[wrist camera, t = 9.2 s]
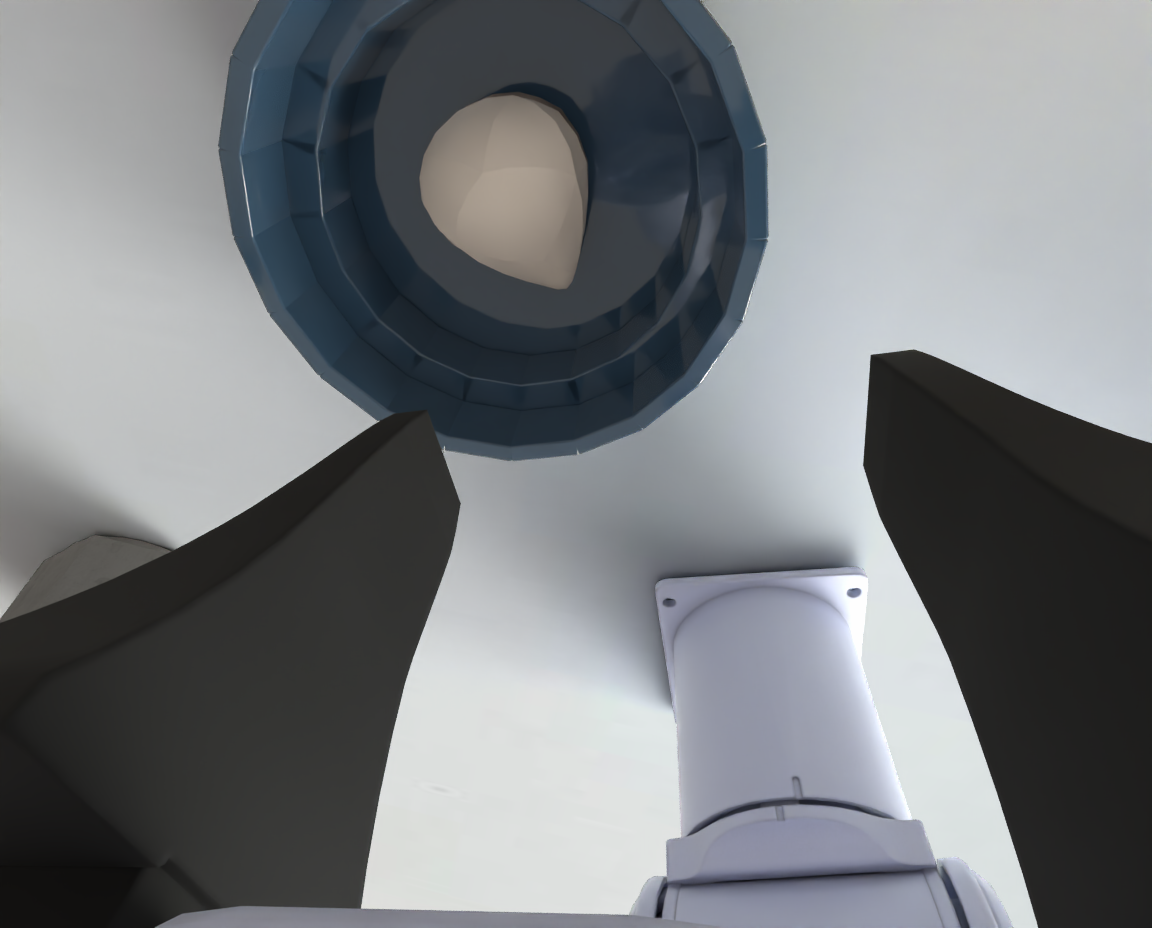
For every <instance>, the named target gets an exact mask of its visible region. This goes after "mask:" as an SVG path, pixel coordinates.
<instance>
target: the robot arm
mask: <svg viewBox="0 0 1152 928" xmlns="http://www.w3.org/2000/svg"><path fill="white" fill-rule="evenodd" d="M863 466H864V469H865V472H866V476H867V479H868V482H869V485H870V489H871V492H872V495H873V498H874V501H875V504H876V507H877V510H878V513H879V516H880V518H881V520H882V522H883V524H884V527H885V529H886V531H887V533H888V535H889V537H890V539H891V541H892V543H893V545H894V547H895V549H896V551H897V553H898V555H899V557H900V559H901V561H902V563H903V565H904V567H905V569H906V571H907V573H908V575H909V577H910V579H911V581H912V583H913V585H914V586H915V588H916V590H917V592H918V594H919V596H920V598H921V600H922V602H923V604H924V606H925V608H926V610H927V612H928V614H929V616H930V618H931V620H932V622H933V624H934V626H935V628H936V630H937V632H938V634H939V636H940V639H941V641H942V643H943V645H944V648H945V650H946V652H947V654H948V657H949V659H950V661H951V664H952V667H953V669H954V672H955V675H956V678H957V680H958V683H959V686H960V689H961V691H962V694H963V697H964V699H965V702H966V705H967V708H968V710H969V713H970V716H971V718H972V721H973V724H974V727H975V730H976V733H977V736H978V739H979V742H980V744H981V747H982V750H983V753H984V756H985V759H986V762H987V765H988V768H989V771H990V774H991V777H992V779H993V782H994V785H995V788H996V791H997V794H998V798H999V801H1000V804H1001V807H1002V810H1003V813H1004V816H1005V820H1006V823H1007V826H1008V829H1009V832H1010V835H1011V839H1012V842H1013V845H1014V848H1015V851H1016V854H1017V857H1018V861H1019V864H1020V867H1021V870H1022V873H1023V877H1024V880H1025V883H1026V887H1027V890H1028V894H1029V897H1030V901H1031V904H1032V907H1033V911H1034V914H1035V918H1036V921H1037V925H1038V928H1152V443H1149V442H1145V441H1142V440H1139V439H1135V438H1132V437H1129V436H1126V435H1123V434H1120V433H1117V432H1114V431H1111V430H1108V429H1106V428H1103V427H1100V426H1097V425H1095V424H1092V423H1089V422H1087V421H1084V420H1081V419H1079V418H1076V417H1073V416H1071V415H1068V414H1066V413H1063V412H1060V411H1058V410H1055V409H1053V408H1050V407H1048V406H1045V405H1043V404H1040V403H1038V402H1036V401H1033V400H1031V399H1028V398H1026V397H1024V396H1021V395H1019V394H1017V393H1014V392H1012V391H1010V390H1008V389H1005V388H1003V387H1001V386H999V385H996V384H994V383H992V382H990V381H988V380H985V379H983V378H981V377H979V376H976V375H974V374H972V373H970V372H968V371H966V370H963V369H961V368H959V367H957V366H955V365H952V364H950V363H948V362H945V361H943V360H941V359H939V358H936V357H934V356H931V355H929V354H926V353H923V352H920V351H917V350H907V351H899V352H891V353H882V354H874V355H871V361H870V375H869V390H868V405H867V419H866V434H865V448H864V463H863ZM460 504H461V503H460V500H459V498H458V495H457V492H456V489H455V486H454V484H453V481H452V478H451V475H450V472H449V470H448V467H447V464H446V461H445V458H444V456H443V453H442V450H441V447H440V444H439V442H438V439H437V436H436V433H435V430H434V428H433V425H432V422H431V419H430V416H429V414H428V411H427V410H419V411H411V412H403V413H395V414H392V415H390V416H388V417H386V418H384V419H383V420H381V421H379V422H378V423H376V424H374V425H373V426H371V427H370V428H368V429H367V430H365V431H363V432H362V433H361V434H359V435H358V436H356V437H355V438H353V439H352V440H350V441H349V442H347V443H346V444H345V445H343V446H342V447H340V448H339V449H337V450H336V451H335V452H333V453H332V454H330V455H329V456H327V457H326V458H325V459H323V460H322V461H320V462H319V463H317V464H316V465H315V466H313V467H312V468H310V469H309V470H307V471H306V472H305V473H303V474H302V475H300V476H299V477H297V478H295V479H294V480H292V481H291V482H289V483H288V484H286V485H285V486H283V487H282V488H280V489H279V490H277V491H276V492H274V493H273V494H271V495H269V496H268V497H266V498H265V499H263V500H262V501H260V502H259V503H257V504H256V505H254V506H253V507H251V508H249V509H248V510H246V511H244V512H243V513H241V514H239V515H238V516H236V517H234V518H233V519H231V520H229V521H227V522H226V523H224V524H222V525H220V526H219V527H217V528H215V529H213V530H211V531H209V532H208V533H206V534H204V535H202V536H200V537H198V538H197V539H195V540H193V541H191V542H189V543H187V544H185V545H183V546H181V547H179V548H177V549H175V550H173V551H171V552H169V553H167V554H165V555H163V556H160V557H158V558H156V559H154V560H152V561H150V562H148V563H146V564H143V565H141V566H139V567H137V568H135V569H133V570H131V571H129V572H126V573H124V574H122V575H120V576H118V577H116V578H114V579H111V580H109V581H107V582H104V583H102V584H100V585H97V586H95V587H92V588H90V589H87V590H85V591H83V592H80V593H78V594H75V595H73V596H70V597H68V598H65V599H63V600H60V601H58V602H55V603H52V604H50V605H47V606H45V607H42V608H39V609H37V610H34V611H31V612H29V613H26V614H23V615H21V616H18V617H15V618H12V619H10V620H7V621H4V622H1V623H0V928H1014V927H1013V925H1012V923H1011V921H1010V918H1009V916H1008V914H1007V912H1006V910H1005V908H1004V906H1003V904H1002V902H1001V900H1000V899H999V897H998V895H997V893H996V892H995V890H994V889H993V887H992V886H991V885H990V884H989V883H988V882H987V881H986V880H985V879H984V878H982V877H981V876H980V875H978V874H977V873H976V872H974V871H973V870H971V869H970V868H969V867H968V865H967V864H966V863H965V862H964V861H963V860H961V859H960V858H958V857H949V858H943V859H937V864H936V861H935V859H934V856H933V853H932V850H931V847H930V844H929V841H928V838H927V835H926V832H925V829H924V826H923V823H922V821H920V820H912V818H911V815H910V812H909V809H908V806H907V803H906V800H905V796H904V793H903V790H902V787H901V784H900V781H899V778H898V775H897V772H896V769H895V766H894V763H893V760H892V756H891V753H890V750H889V747H888V744H887V741H886V738H885V735H884V732H883V729H882V726H881V723H880V719H879V716H878V713H877V710H876V707H875V704H874V701H873V698H872V695H871V692H870V689H869V686H868V683H867V679H866V676H865V673H864V670H863V667H862V664H861V650H862V640H863V630H864V619H865V609H866V599H867V588H868V578H867V575H866V572H865V571H864V570H863V569H861V568H859V567H842V568H827V569H811V570H795V571H780V572H764V573H748V574H733V575H717V576H701V577H686V578H670V579H663V580H660V581H659V582H658V583H657V584H656V586H655V595H656V602H657V608H658V614H659V621H660V627H661V634H662V640H663V647H664V653H665V659H666V666H667V672H668V679H669V685H670V692H671V698H672V704H673V711H674V717H675V722H676V724H677V749H678V774H679V799H680V824H681V838H675V839H669V840H667V841H666V860H667V876H654V877H652V878H650V879H648V880H647V882H646V883H645V885H644V886H643V888H642V890H641V893H640V895H639V897H638V898H637V900H636V901H635V903H634V904H633V906H632V908H631V911H630V913H629V915H609V914H565V913H522V912H479V911H436V910H393V909H361V904H362V897H363V890H364V883H365V876H366V869H367V863H368V857H369V852H370V846H371V840H372V835H373V829H374V823H375V818H376V812H377V806H378V801H379V795H380V791H381V786H382V781H383V776H384V772H385V767H386V762H387V757H388V753H389V748H390V743H391V738H392V734H393V730H394V726H395V722H396V718H397V714H398V709H399V705H400V701H401V697H402V693H403V689H404V685H405V681H406V678H407V675H408V672H409V669H410V665H411V662H412V659H413V656H414V654H415V651H416V648H417V645H418V643H419V640H420V637H421V634H422V632H423V629H424V626H425V624H426V621H427V618H428V615H429V613H430V610H431V607H432V604H433V602H434V599H435V596H436V594H437V591H438V588H439V585H440V582H441V580H442V577H443V574H444V571H445V568H446V566H447V563H448V560H449V557H450V554H451V550H452V546H453V541H454V537H455V532H456V527H457V521H458V515H459V510H460ZM853 587H856V588H855V589H852V590H849V589H850V588H853ZM667 598H671V599H673V600H666V599H667Z"/></svg>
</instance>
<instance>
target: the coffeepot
mask: <svg viewBox="0 0 1152 928" xmlns="http://www.w3.org/2000/svg"><path fill="white" fill-rule="evenodd" d="M169 552H171V551H169V550H167V549H165V548H162V547H159V546H156V545H153V544H150V543H147V542H144V541H140V540H134V539H129V538H124V537H107V536H99V535H93V536H91V537H89V538H87V539H85V540H82V541H79V542H76V543H74V544H72V545H71V546H70V547H68V548H67V549H66V550H64V551H62V552H60V553H58V554H56V555H54V556H52V557H50V558H48V559H46V560H45V561H43V563H42V564H41V565H40V567H39V568H38V569H37V571H36V572H35V573H34V575H33V576H32V577H31V579H30V580H29V581H28V583H27V584H26V585H25V587H24V588H23V589H22V591H21V592H20V593H19V595H18V596H17V597H16V599H15V600H14V601H13V603H12V604H11V605H10V607H9V608H8V609H7V611H6V612H5V613H4V615H3V616H2V617H1V619H0V623H1V622H4V621H7V620H10V619H12V618H15V617H18V616H21V615H23V614H26V613H29V612H31V611H34V610H37V609H39V608H42V607H45V606H47V605H50V604H52V603H55V602H58V601H60V600H63V599H65V598H68V597H70V596H73V595H75V594H78V593H80V592H83V591H85V590H87V589H90V588H92V587H95V586H97V585H100V584H102V583H104V582H107V581H109V580H111V579H114V578H116V577H118V576H120V575H122V574H124V573H126V572H129V571H131V570H133V569H135V568H137V567H139V566H141V565H143V564H146V563H148V562H150V561H152V560H154V559H156V558H158V557H160V556H163V555H165V554H167V553H169Z"/></svg>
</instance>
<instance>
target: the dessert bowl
mask: <svg viewBox="0 0 1152 928" xmlns="http://www.w3.org/2000/svg"><path fill="white" fill-rule="evenodd" d="M510 92H521V93H525V94H529V95H532V96H536V97H540V98H542V99H544V100H546V101H548V102H549V103H551V104H553V105H555V106H557V107H559V108H561V109H562V111H563V112H564V114H565V115H566V117H567V118H568V119H569V121H570V122H571V124H572V125H573V127H574V128H575V129H576V131H577V132H578V134H579V137H580V140H581V143H582V146H583V149H584V152H585V155H586V157H587V160H588V203H587V215H586V226H585V231H584V236H583V241H582V246H581V251H580V255H579V260H578V264H577V268H576V271H575V274H574V278H573V281H572V282H571V284H570V285H569V286H568V288H567V289H554V288H550V287H546V286H543V285H539V284H535V283H531V282H527V281H524V280H521V279H518V278H515V277H512V276H509V275H506V274H503V273H501V272H499V271H497V270H495V269H492V268H490V267H488V266H486V265H484V264H482V263H480V262H478V261H476V260H475V259H474V258H472V257H471V256H469V255H468V254H467V253H465V252H464V251H463V250H461V249H459V248H458V247H456V246H454V245H453V244H452V243H451V242H450V241H449V240H448V239H447V238H446V237H445V236H444V234H443V233H441V232H440V231H439V229H438V228H437V227H436V225H435V224H434V223H433V221H432V219H431V217H430V215H429V213H428V211H427V210H426V208H425V206H424V204H423V202H422V199H421V189H420V179H419V178H420V172H421V167H422V162H423V157H424V154H425V152H426V150H427V148H428V146H429V144H430V142H431V140H432V138H433V136H434V135H435V133H436V132H437V131H438V130H439V129H440V128H441V127H442V126H443V125H444V124H445V123H446V122H447V121H448V120H449V119H450V118H451V117H452V116H453V115H454V114H455V113H456V112H457V111H459V110H461V109H463V108H465V107H466V106H468V105H470V104H472V103H475V102H477V101H479V100H481V99H483V98H486V97H488V96H490V95H492V94H499V93H510ZM218 146H219V156H220V162H221V168H222V174H223V180H224V186H225V192H226V198H227V204H228V210H229V216H230V222H231V228H232V234H233V236H235V237H234V240H235V242H236V245H237V247H238V249H239V251H240V253H241V255H242V258H243V260H244V262H245V264H246V266H247V268H248V270H249V273H250V275H251V277H252V279H253V281H254V283H255V286H256V288H257V290H258V292H259V294H260V296H261V299H262V301H263V303H264V305H265V307H266V309H267V312H268V313H270V317H271V318H272V319H273V320H274V321H275V323H276V324H277V325H278V326H279V328H280V329H281V330H282V331H283V333H284V334H285V335H286V336H287V337H288V339H289V340H290V341H291V342H292V344H293V345H294V346H295V347H296V349H297V350H298V351H299V352H300V354H301V355H302V356H303V357H304V358H305V360H306V361H307V362H308V363H309V365H310V366H311V367H312V368H313V370H314V371H315V372H316V373H317V375H320V377H321V378H322V379H323V380H325V381H326V382H327V383H328V384H330V385H331V386H332V387H334V388H335V389H336V390H338V391H339V392H340V393H342V394H343V395H344V396H346V397H347V398H348V399H350V400H351V401H352V402H353V403H355V404H356V405H357V406H359V407H360V408H361V409H363V410H364V411H365V412H367V413H368V414H369V415H371V416H372V417H373V418H374V419H376V420H377V421H379V420H380V421H381V420H383V419H384V418H386V417H388V416H390V415H392V414H395V413H403V412H411V411H419V410H427V411H428V414H429V416H430V419H431V422H432V425H433V428H434V430H435V433H436V436H437V439H438V442H439V444H440V447H441V449H445V450H446V451H452V452H458V453H464V454H470V455H476V456H482V457H488V458H494V459H500V460H507V461H511V460H512V461H521V460H531V459H541V458H551V457H561V456H571V455H578V454H582V453H585V452H587V451H590V450H592V449H595V448H598V447H600V446H603V445H605V444H608V443H610V442H613V441H615V440H618V439H620V438H623V437H625V436H628V435H630V434H633V433H636V432H638V431H641V430H642V428H643V429H644V428H646V427H647V426H648V425H649V424H651V423H652V422H653V421H654V420H656V419H657V418H658V417H660V416H661V415H662V414H663V413H665V412H666V411H667V410H668V409H670V408H671V407H672V406H674V405H675V404H676V403H677V402H679V401H680V400H681V399H682V398H684V397H685V396H686V395H687V394H689V393H690V392H691V391H693V390H694V389H695V388H696V387H698V385H699V384H701V382H702V381H703V379H704V378H705V377H706V375H707V374H708V372H709V371H710V369H711V368H712V366H713V365H714V363H715V362H716V361H717V359H718V358H719V356H720V355H721V353H722V352H723V350H724V349H725V347H726V346H727V345H728V343H729V342H730V340H731V339H732V337H733V336H734V334H735V333H736V331H737V330H738V329H739V327H740V326H741V324H742V322H743V321H742V320H744V318H745V315H746V311H747V308H748V305H749V302H750V298H751V295H752V292H753V288H754V285H755V282H756V279H757V275H758V272H759V269H760V265H761V262H762V259H763V256H764V252H765V249H766V246H767V242H768V240H767V238H768V236H769V234H768V164H767V145H766V138H765V135H764V132H763V129H762V126H761V123H760V120H759V118H758V115H757V112H756V109H755V106H754V103H753V100H752V97H751V94H750V91H749V88H748V85H747V82H746V79H745V76H744V74H743V71H742V68H741V65H740V62H739V59H738V56H737V53H736V50H735V47H734V46H733V45H732V42H731V40H730V39H729V37H728V36H727V35H726V33H725V32H724V31H723V29H722V28H721V27H720V26H719V24H718V23H717V22H716V20H715V19H714V18H713V17H712V15H711V14H710V13H709V11H708V10H707V9H706V7H705V6H704V5H703V4H702V2H701V1H700V0H259V1H258V3H257V5H256V7H255V9H254V11H253V13H252V15H251V17H250V19H249V20H248V22H247V24H246V26H245V28H244V30H243V32H242V34H241V36H240V38H239V40H238V41H237V43H236V45H235V47H234V49H233V51H232V55H231V57H230V63H229V71H228V78H227V85H226V93H225V100H224V107H223V115H222V122H221V130H220V137H219V144H218Z"/></svg>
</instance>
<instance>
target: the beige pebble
mask: <svg viewBox="0 0 1152 928" xmlns="http://www.w3.org/2000/svg"><path fill="white" fill-rule="evenodd" d="M419 179H420V189H421V199H422V202H423V204H424V206H425V208H426V210H427V211H428V213H429V215H430V217H431V219H432V221H433V223H434V224H435V225H436V227H437V228H438V229H439V231H440V232H441V233H443V234H444V236H445V237H446V238H447V239H448V240H449V241H450V242H451V243H452V244H453V245H454V246H456V247H458V248H459V249H461V250H463V251H464V252H465V253H467V254H468V255H469V256H471V257H472V258H474V259H475V260H476V261H478V262H480V263H482V264H484V265H486V266H488V267H490V268H492V269H495V270H497V271H499V272H501V273H503V274H506V275H509V276H512V277H515V278H518V279H521V280H524V281H527V282H531V283H535V284H539V285H543V286H546V287H550V288H554V289H567V288H568V286H569V285H570V284H571V282H572V281H573V278H574V274H575V271H576V268H577V264H578V260H579V255H580V251H581V246H582V241H583V236H584V231H585V226H586V215H587V203H588V160H587V157H586V155H585V152H584V149H583V146H582V143H581V140H580V137H579V134H578V132H577V131H576V129H575V128H574V127H573V125H572V124H571V122H570V121H569V119H568V118H567V117H566V115H565V114H564V112H563V111H562V109H561V108H559V107H557V106H555V105H553V104H551V103H549V102H548V101H546V100H544V99H542V98H540V97H536V96H532V95H529V94H525V93H521V92H510V93H499V94H492V95H490V96H488V97H486V98H483V99H481V100H479V101H477V102H475V103H472V104H470V105H468V106H466V107H465V108H463V109H461V110H459V111H457V112H456V113H455V114H454V115H453V116H452V117H451V118H450V119H449V120H448V121H447V122H446V123H445V124H444V125H443V126H442V127H441V128H440V129H439V130H438V131H437V132H436V133H435V135H434V136H433V138H432V140H431V142H430V144H429V146H428V148H427V150H426V152H425V154H424V157H423V162H422V167H421V172H420V178H419Z"/></svg>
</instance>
